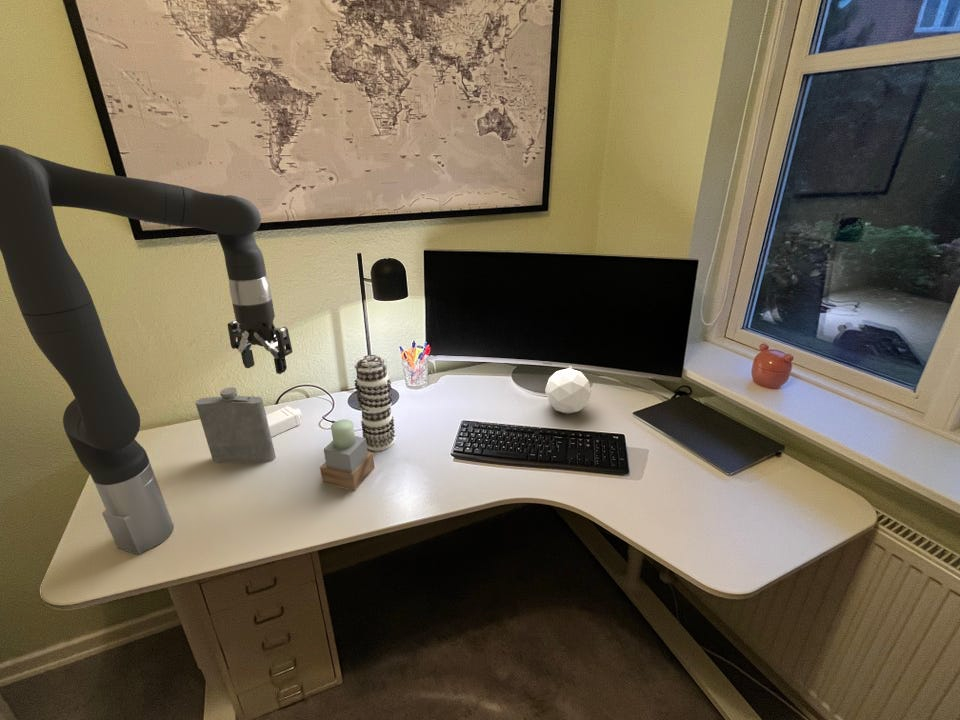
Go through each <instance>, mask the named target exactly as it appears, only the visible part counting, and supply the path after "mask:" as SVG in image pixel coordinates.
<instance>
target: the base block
mask: <svg viewBox="0 0 960 720" xmlns="http://www.w3.org/2000/svg"><path fill="white" fill-rule="evenodd" d="M367 452H368V456H367V457H366V458H365V459H364V460H363V461H362V462H361V463H360V464H359V465H358V466H357V468H356V469H355V470H354V471H353V472H348V471H344V470H340V469H336V468H331V467H327V465H326V461H325V462H323V464H322V465H320V466H319V469H320V474H321V475H320V476H321V480H322V483H323V484H326V485H330V486H333V487H338V488H343V489H347V490H351V491H354V492H356V491H357V489H358V488H359V487H361V484H362V483H364V481H365V480H366V479H367V478H368V476H370V474H371V473H372V472H373V471H374V469H375V461H374V454H373V453H374V452H371V451H367Z"/></svg>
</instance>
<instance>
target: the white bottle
mask: <svg viewBox="0 0 960 720" xmlns="http://www.w3.org/2000/svg"><path fill="white" fill-rule="evenodd" d="M302 415H303V414H302V412H301V409H299V408H298V407H297V408H293V407H290V406H289V405H286V406H284V407H282V408H280V409H276V410H274V411H273V412H270V413H268V414H266V417H267V421H268V425H269V430H270V434H271V438H273V437H275V436H277V435H279V434H282V433H283V432H286V431H288V430H290V429H293V428H295V427H298V426H300V425H301V424H302V422H301V419H302V417H303V416H302Z"/></svg>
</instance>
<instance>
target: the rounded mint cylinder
mask: <svg viewBox="0 0 960 720" xmlns="http://www.w3.org/2000/svg"><path fill="white" fill-rule="evenodd" d="M353 422H354V421H352V420H350V419H338V420H336V421H335V422H333V423H331V425H330V430H331V436H332V441H333V443H334V447H335V448H337V449H347V448H350V447H352V446H353V445H354V444H355V442H356V441H355V436H356V435H355V428H354V423H353Z"/></svg>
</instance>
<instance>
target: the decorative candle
mask: <svg viewBox="0 0 960 720" xmlns="http://www.w3.org/2000/svg"><path fill="white" fill-rule="evenodd" d="M387 361H388V360H386V359H384V358H383V357H381V356H380V355H378V354H367V355H365V356H362V357H361V358H359V359H358V361H357V362H356V363H355V364H354V369H355V371H356V377H355V378H356V379H355V380H354V382H355V383H354V389H355V390H356V391H355V393H356V398H357V402H358V407H359V410H360V411H361V420H360V421H361V422H360V423H361V428H362V429H361V431H362V438H366V445H367V450H369V451H373V452H374V451H375V452H376V451H377V452H378V451H379V452H380V451H385V450H387V449H389V448H391V447H392V446H393V445H395V443H396V434H395V433H396V432H395V431H396V430H395V427H394V426H395V420H394V416H393V414H392V413H393V412H392V410H391V406H392V405H393V404H392V403H393V398H392V396H393V395H392V393H391V390H392V389H393V388H392V386H391V384H392V382H391V380H390V379H389V375H388V371H387V365H388V362H387Z"/></svg>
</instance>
